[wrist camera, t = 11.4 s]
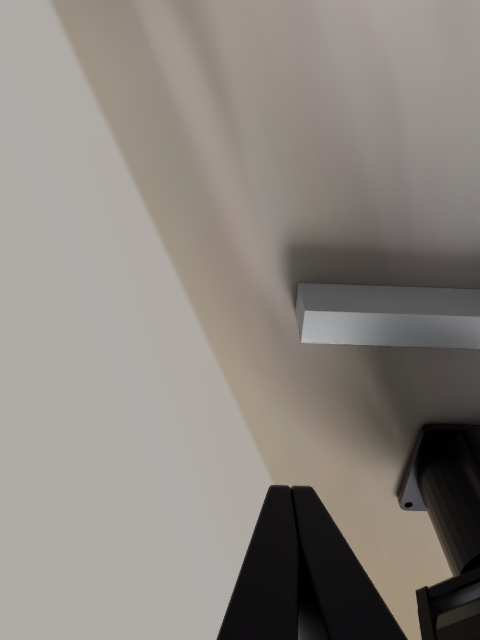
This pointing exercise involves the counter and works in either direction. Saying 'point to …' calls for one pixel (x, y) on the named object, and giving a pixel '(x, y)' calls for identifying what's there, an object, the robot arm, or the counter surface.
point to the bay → (388, 315)
